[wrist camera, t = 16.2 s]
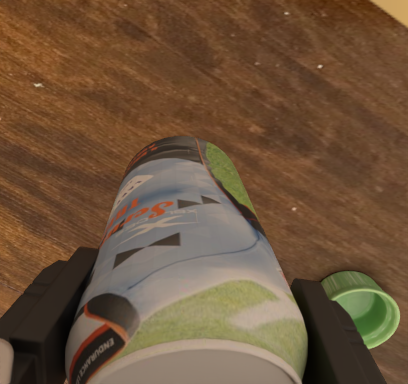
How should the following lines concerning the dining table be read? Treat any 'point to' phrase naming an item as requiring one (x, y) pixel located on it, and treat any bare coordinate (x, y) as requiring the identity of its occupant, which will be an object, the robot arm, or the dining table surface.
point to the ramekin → (364, 305)
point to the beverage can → (185, 282)
